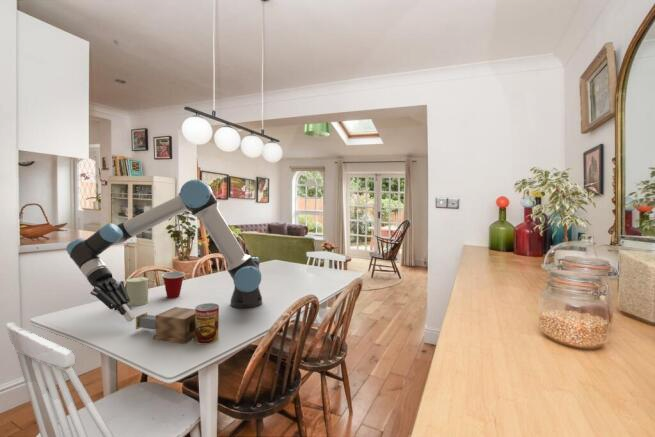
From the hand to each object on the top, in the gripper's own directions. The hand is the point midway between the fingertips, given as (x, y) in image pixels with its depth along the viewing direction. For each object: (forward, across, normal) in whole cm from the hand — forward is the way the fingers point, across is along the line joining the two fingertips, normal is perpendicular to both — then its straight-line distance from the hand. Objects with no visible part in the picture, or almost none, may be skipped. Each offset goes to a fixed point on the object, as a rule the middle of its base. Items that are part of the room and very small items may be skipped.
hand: (131, 319), depth 121 cm
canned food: (+26, -1, +20) cm, 33 cm away
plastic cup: (-8, -41, -14) cm, 44 cm away
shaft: (+12, -1, +8) cm, 14 cm away
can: (-14, -27, -20) cm, 36 cm away
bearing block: (+18, -1, +12) cm, 21 cm away
